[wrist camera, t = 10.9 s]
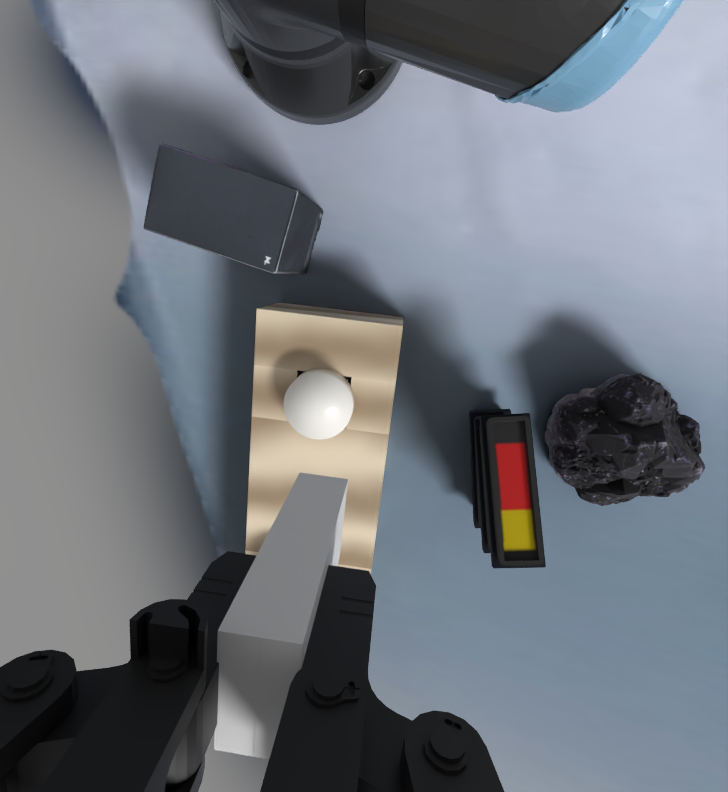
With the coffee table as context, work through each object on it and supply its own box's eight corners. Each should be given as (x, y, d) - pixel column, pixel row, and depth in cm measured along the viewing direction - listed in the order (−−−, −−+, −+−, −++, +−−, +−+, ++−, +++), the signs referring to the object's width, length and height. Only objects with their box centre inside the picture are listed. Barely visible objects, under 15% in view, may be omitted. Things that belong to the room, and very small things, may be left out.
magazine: (473, 544, 49) (495, 571, 34) (463, 417, 51) (480, 390, 37) (510, 543, 48) (550, 570, 34) (499, 415, 51) (531, 387, 36)
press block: (278, 302, 46) (256, 308, 39) (403, 317, 45) (403, 326, 38) (262, 586, 54) (241, 631, 48) (366, 601, 54) (360, 650, 47)
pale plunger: (305, 352, 45) (285, 368, 38) (363, 359, 45) (355, 377, 38) (300, 408, 47) (281, 434, 39) (357, 415, 46) (348, 443, 39)
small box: (326, 205, 43) (302, 187, 33) (306, 276, 45) (277, 279, 35) (215, 167, 43) (157, 137, 33) (200, 239, 45) (140, 232, 35)
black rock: (646, 507, 49) (719, 560, 39) (519, 483, 48) (561, 531, 38) (691, 381, 46) (781, 405, 36) (557, 353, 45) (612, 369, 36)
